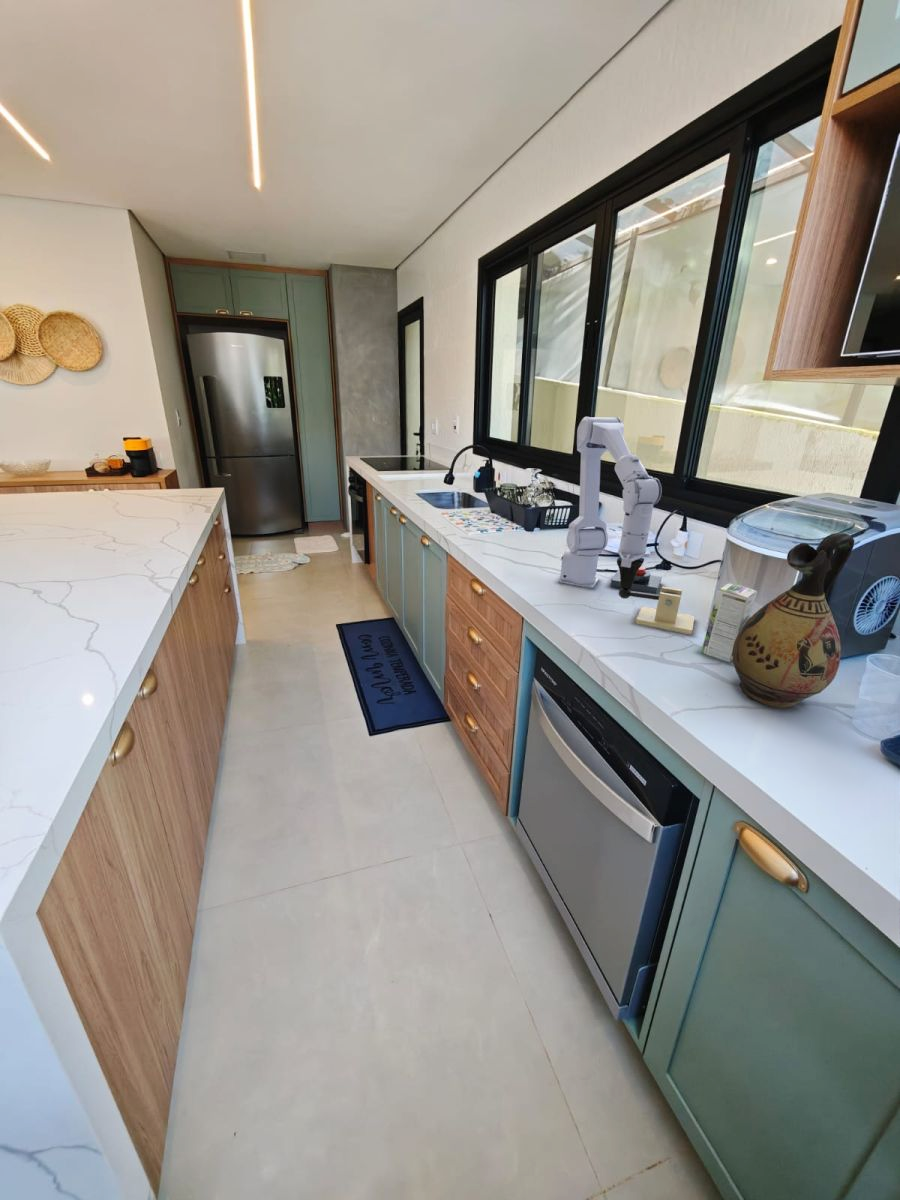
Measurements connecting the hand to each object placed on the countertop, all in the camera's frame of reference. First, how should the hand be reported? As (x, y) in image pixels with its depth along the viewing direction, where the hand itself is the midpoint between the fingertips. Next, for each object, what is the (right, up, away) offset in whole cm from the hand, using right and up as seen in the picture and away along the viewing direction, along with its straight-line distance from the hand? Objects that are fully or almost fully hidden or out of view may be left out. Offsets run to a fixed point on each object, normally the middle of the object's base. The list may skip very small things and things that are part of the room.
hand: (626, 587), depth 120 cm
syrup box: (+14, -14, -16) cm, 26 cm away
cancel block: (+10, +1, +21) cm, 23 cm away
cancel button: (+10, +4, +19) cm, 22 cm away
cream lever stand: (+9, -8, -2) cm, 12 cm away
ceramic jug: (+17, -20, -29) cm, 39 cm away
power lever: (+4, -3, -1) cm, 6 cm away
